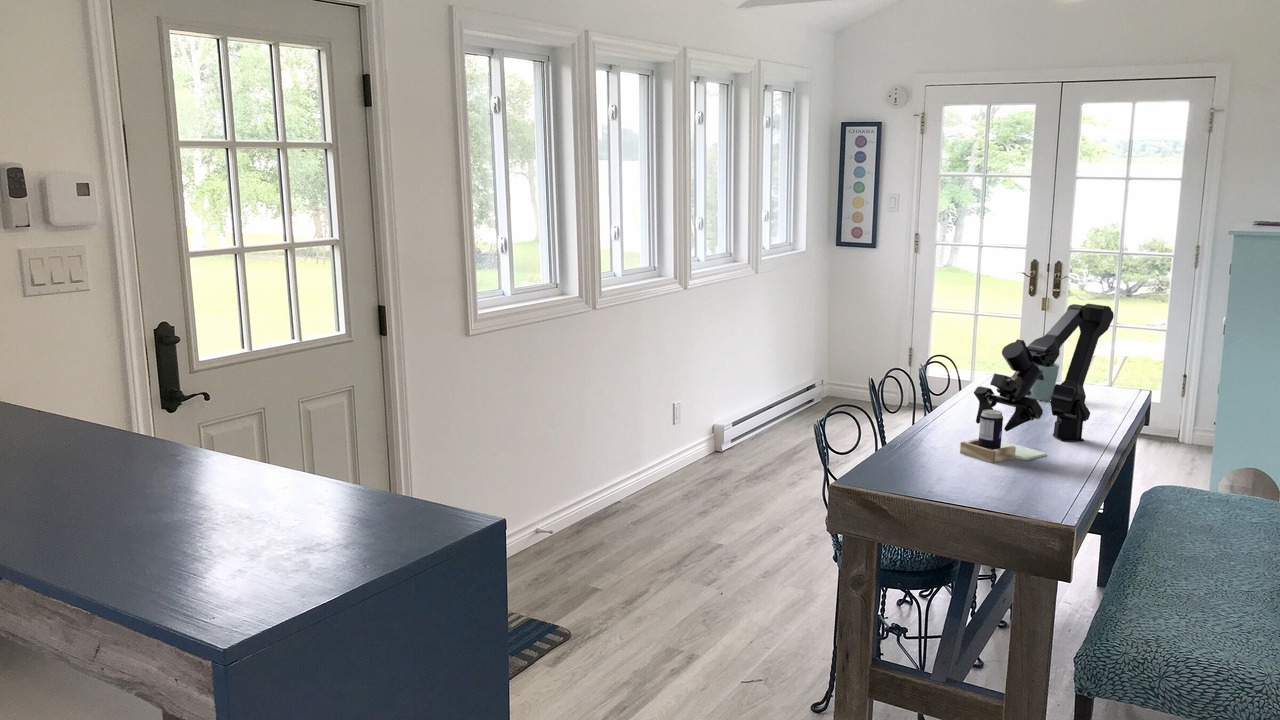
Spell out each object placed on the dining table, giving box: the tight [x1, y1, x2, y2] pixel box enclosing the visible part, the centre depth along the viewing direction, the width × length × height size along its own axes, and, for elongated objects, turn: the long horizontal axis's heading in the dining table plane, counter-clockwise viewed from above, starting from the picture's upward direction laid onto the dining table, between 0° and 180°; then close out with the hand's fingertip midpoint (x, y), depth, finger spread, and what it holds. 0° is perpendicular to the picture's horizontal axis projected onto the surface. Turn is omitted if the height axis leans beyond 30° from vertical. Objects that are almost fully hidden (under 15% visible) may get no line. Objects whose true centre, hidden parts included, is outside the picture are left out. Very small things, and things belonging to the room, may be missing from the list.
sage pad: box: [1001, 440, 1048, 461], centre depth 267 cm, size 9×16×1 cm, turn 32°
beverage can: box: [978, 409, 1004, 450], centre depth 261 cm, size 6×6×12 cm
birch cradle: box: [959, 438, 1016, 463], centre depth 261 cm, size 9×10×3 cm
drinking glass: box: [1025, 362, 1060, 402], centre depth 329 cm, size 10×10×12 cm
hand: (991, 426), depth 261 cm, fingers open, 9 cm apart
